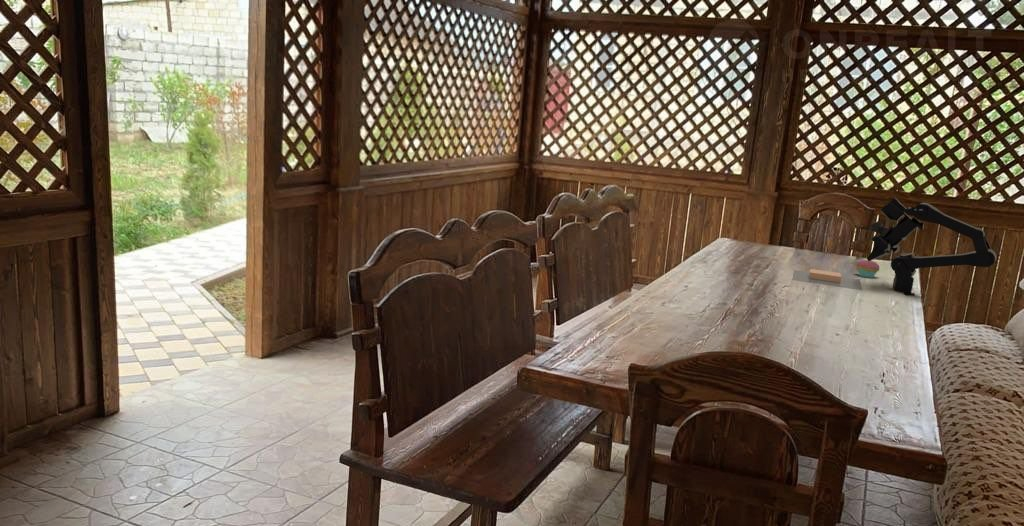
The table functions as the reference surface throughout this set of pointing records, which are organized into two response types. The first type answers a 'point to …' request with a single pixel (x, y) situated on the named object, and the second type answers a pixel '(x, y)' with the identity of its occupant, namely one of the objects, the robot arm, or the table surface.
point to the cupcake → (867, 268)
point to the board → (844, 282)
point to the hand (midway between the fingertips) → (867, 260)
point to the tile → (825, 276)
